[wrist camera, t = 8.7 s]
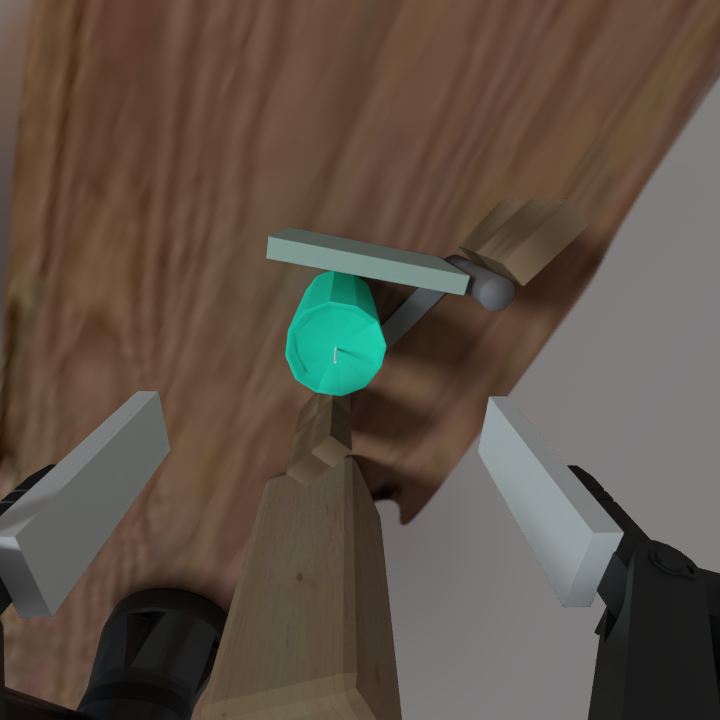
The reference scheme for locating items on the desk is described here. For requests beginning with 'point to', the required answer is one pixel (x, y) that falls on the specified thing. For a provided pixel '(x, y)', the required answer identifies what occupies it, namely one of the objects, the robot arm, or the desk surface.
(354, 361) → the candle
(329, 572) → the wooden block
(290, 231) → the sage green plank
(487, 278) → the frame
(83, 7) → the desk surface
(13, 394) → the desk surface
